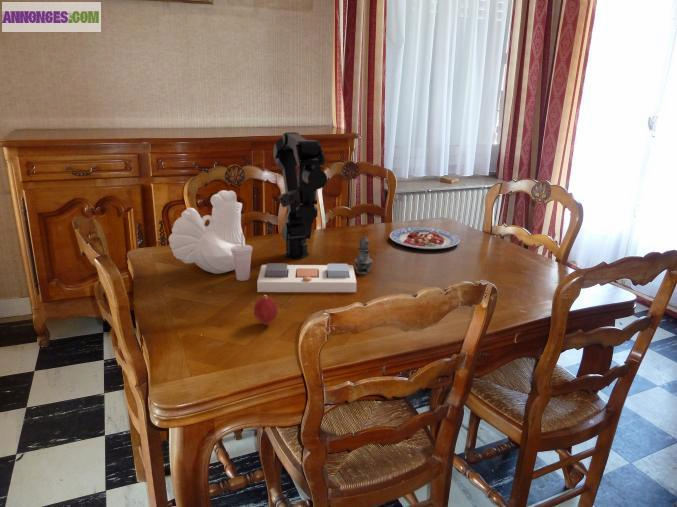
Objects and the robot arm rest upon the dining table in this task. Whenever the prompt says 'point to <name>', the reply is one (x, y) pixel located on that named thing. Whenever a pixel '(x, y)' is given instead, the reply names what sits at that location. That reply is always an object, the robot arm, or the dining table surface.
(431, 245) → the ceramic plate
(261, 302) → the onion
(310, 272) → the terracotta key
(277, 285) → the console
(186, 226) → the decorative rooster
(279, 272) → the charcoal key
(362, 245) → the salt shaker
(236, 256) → the smoothie
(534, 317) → the dining table surface
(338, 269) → the blue key
